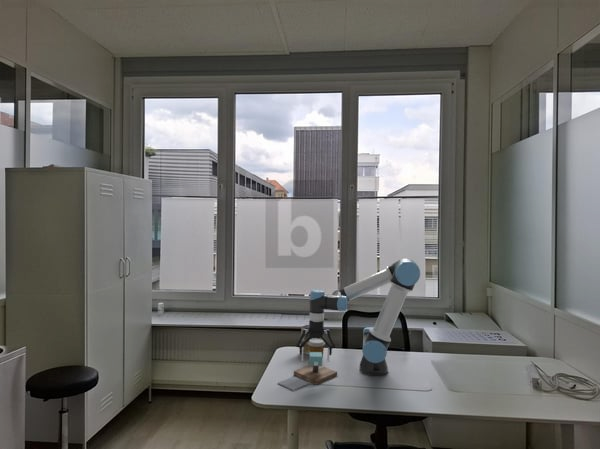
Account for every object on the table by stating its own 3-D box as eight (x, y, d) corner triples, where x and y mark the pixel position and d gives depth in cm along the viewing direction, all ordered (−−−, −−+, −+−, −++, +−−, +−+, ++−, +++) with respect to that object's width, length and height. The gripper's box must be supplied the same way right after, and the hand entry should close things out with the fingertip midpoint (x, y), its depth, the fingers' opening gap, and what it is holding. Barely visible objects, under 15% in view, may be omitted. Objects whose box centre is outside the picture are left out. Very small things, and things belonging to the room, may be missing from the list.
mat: (309, 384, 194) (309, 383, 194) (293, 391, 186) (293, 389, 186) (293, 377, 202) (293, 376, 202) (277, 383, 194) (277, 382, 194)
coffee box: (318, 353, 238) (319, 327, 238) (312, 356, 233) (312, 329, 233) (307, 350, 244) (307, 324, 244) (300, 352, 239) (300, 326, 239)
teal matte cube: (321, 361, 208) (321, 352, 208) (322, 366, 201) (322, 357, 201) (309, 361, 208) (309, 352, 208) (309, 366, 201) (309, 357, 201)
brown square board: (337, 375, 205) (337, 356, 205) (316, 384, 194) (316, 364, 194) (314, 366, 217) (314, 348, 216) (293, 374, 205) (294, 355, 205)
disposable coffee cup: (325, 358, 229) (325, 338, 229) (324, 364, 220) (324, 343, 220) (308, 358, 230) (309, 337, 230) (307, 364, 221) (307, 342, 221)
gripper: (339, 318, 209) (338, 358, 209) (292, 317, 209) (291, 357, 209) (341, 322, 201) (339, 363, 202) (292, 321, 201) (291, 362, 201)
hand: (315, 360), depth 205 cm, fingers open, 13 cm apart
